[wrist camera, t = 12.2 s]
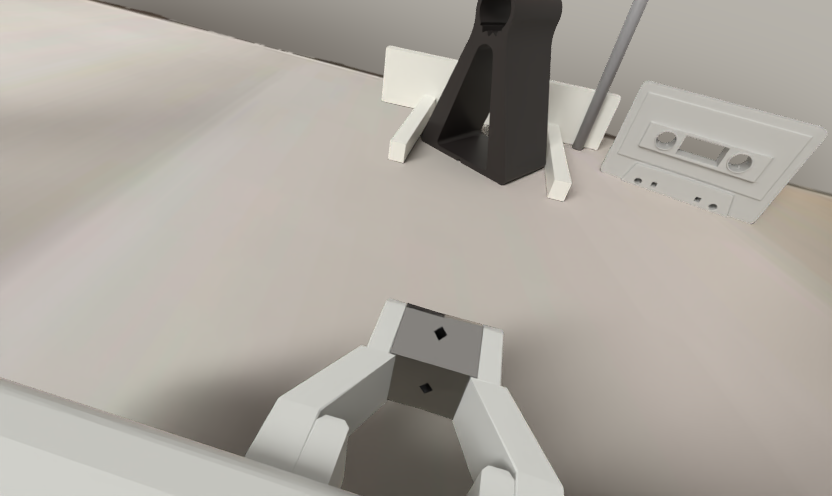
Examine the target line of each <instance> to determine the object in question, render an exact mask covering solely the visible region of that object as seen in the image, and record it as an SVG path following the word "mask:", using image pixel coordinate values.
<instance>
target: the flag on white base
mask: <svg viewBox="0 0 832 496" xmlns="http://www.w3.org/2000/svg"><path fill="white" fill-rule="evenodd" d="M647 2H648V0H634V1H633V3H632V6H631V8H630V11H629V13H628V15H627V18H626V20H625V22H624V25H623V27H622V30H621V32H620V34H619V37H618V39H617V42H616V44H615V46H614V49H613V51H612V53H611V56H610V58H609V60H608V63H607V65H606V67H605V70H604V72H603V74H602V77H601V79H600V81H599V84H598V86H597V89H596V90H594V89H590V88H585V87H580V86H575V85H571V84H566V83H561V82H557V81H552V80H550V84H549V106H548V129H547V152H546V165H545V166H544V170H545V179H546V189H547V198H551V199H555V200H559V201H563V202H564V200H565V198H566V195H567V193H568V191H569V189H570V186H571V184H572V182H571V178H570V173H569V169H568V164H567V160H566V155H565V151H564V146H563V143H568V144H572V147H573V148H574V149H577V150H582V149H583V147H585V148H589V149H594V150H597V149H598V147H599V145H600V143H601V141H602V139H603V136H604V134H605V132H606V130H607V128H608V126H609V124H610V121H611V119H612V117H613V115H614V113H615V111H616V109H617V107H618V104H619V102H620V100H621V97H620V96H619V95H617V94H613V93H608V91H609V88H610V86H611V84H612V81H613V79H614V77H615V75H616V72H617V70H618V68H619V66H620V63H621V61H622V59H623V56H624V54H625V52H626V50H627V47H628V45H629V43H630V41H631V39H632V36H633V34H634V32H635V29H636V27H637V25H638V23H639V20H640V18H641V16H642V14H643V11H644V9H645V7H646V4H647ZM457 62H458V60H455V59H450V58H446V57H441V56H436V55H432V54H427V53H423V52H418V51H413V50H408V49H403V48H399V47H395V46H388V47H387V48H386V57H385V68H384V79H383V90H382V101H384V102H388V103H392V104H397V105H401V106H406V107H410V108H414V110H413V111H412V112H411V114H410V115H409V116H408V118H407V119H406V120H405V122H404V123H403V124H402V126H401V127H400V128H399V130H398V131H397V132H396V134H395V135H394V136H393V138H392V139H391V140H390V147H389V156H388V159H389V160H393V161H397V162H401V163H404V161H405V159H406V158H407V156H408V154H409V153H410V151H411V149H412V148H413V146H414V144H415V143H416V141H417V139H418V138H419V136H420V134H421V133H422V131H423V129H424V128H425V126H426V124H427V123H428V121H429V119H430V117H431V115H432V113H433V111H434V109H435V107H436V104H437V102H438V100H439V98H440V96H441V94H442V92H443V90H444V88H445V86H446V84H447V82H448V80H449V78H450V76H451V74H452V72H453V70H454V68H455V66H456V64H457ZM489 119H490V113H489V115H488V117H487V119H486V121H485V123H484V125H489Z"/></svg>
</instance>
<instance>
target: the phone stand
mask: <svg viewBox="0 0 832 496" xmlns="http://www.w3.org/2000/svg"><path fill="white" fill-rule="evenodd" d="M561 13H562V1H561V0H478V3H477V8H476V18H475V23H474V27H473V30H472V33H471V36H470V38H469V40H468V42H467V44H466V46H465V48H464V50H463V52H462V54H461V56H460V58H459V60H458V62H457V64H456V66H455V68H454V70H453V72H452V74H451V76H450V78H449V80H448V82H447V84H446V86H445V88H444V90H443V92H442V94H441V96H440V98H439V100H438V102H437V104H436V107H435V109H434V111H433V113H432V115H431V117H430V119H429V121H428V123H427V125H426V127H425V129H424V131H423V133H422V135H421V139H422V141H423V142H425V143H427V144H429V145H430V146H432V147H434V148H436V149H437V150H439V151H441V152H443V153H445V154H446V155H448V156H450V157H452V158H454V159H455V160H457V161H458V160H460V161H461V163H463V164H464V165H466V166H468V167H470V168H471V169H473V170H475V171H477V172H479V173H480V174H482V175H484V176H486V177H488V178H489V179H491V180H493V181H495V182H497V183H498V184H500V185H503V184H505V183H507V182H510V181H512V180H515V179H517V178H519V177H522V176H524V175H526V174H529V173H531V172H533V171H536V170H538V169H540V168H543V167H544V166H545V165H546V152H547V129H548V106H549V84H550V60H551V44H552V38H553V34H554V31H555V29H556V26H557V24H558V22H559V20H560V17H561ZM489 113H490V119H489V136H486V135H484V134H482V132H481V128H482V126H483V124H484V123H485V121H486V119H487V117H488V115H489Z"/></svg>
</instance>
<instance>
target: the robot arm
mask: <svg viewBox="0 0 832 496" xmlns="http://www.w3.org/2000/svg"><path fill="white" fill-rule="evenodd" d="M503 341H504V332H503V330H502V329H498V328H494V327H491V326H487V325H482V324H480V323H476V322H472V321H469V320H465V319H461V318H458V317H454V316H450V315H446V314H442V313H438V312H435V311H432V310H429V309H425V308H422V307H419V306H416V305H412V304H409V303H408V304H407V303H405V302H401V301H398V300H395V299H392V298H388V299H387V301H386V302H385V305H384V307H383V309H382V312H381V314H380V317H379V319H378V321H377V324H376V326H375V329H374V331H373V333H372V336H371V338H370V341H369V343H368V345H367V346H363V345H360V346H359V347H357V348H356V349H354V350H353V351H351V352H349V353H348V354H346V355H345V356H343V357H342V358H340V359H338V360H337V361H335V362H334V363H332V364H331V365H329V366H327V367H326V368H324V369H323V370H321V371H320V372H318V373H316V374H315V375H313V376H312V377H310V378H309V379H307V380H305V381H304V382H302V383H301V384H299V385H298V386H296V387H294V388H293V389H291V390H290V391H288V392H287V393H285V394H283V395H282V396H280V397H279V398H278V399H277V401H276V403H275V405H274V406H273V408H272V410H271V412H270V413H269V415H268V417H267V418H266V420H265V422H264V424H263V425H262V427H261V429H260V431H259V432H258V434H257V436H256V437H255V439H254V441H253V443H252V444H251V446H250V448H249V449H248V451H247V453H246V455H245V456H244V457H242V456H239V455H236V454H233V453H230V452H227V451H224V450H221V449H218V448H215V447H212V446H209V445H206V444H203V443H200V442H197V441H194V440H190V439H187V438H184V437H181V436H178V435H175V434H172V433H169V432H166V431H163V430H160V429H157V428H154V427H151V426H148V425H145V424H142V423H139V422H136V421H133V420H130V419H126V418H123V417H120V416H117V415H114V414H111V413H108V412H105V411H102V410H99V409H96V408H93V407H90V406H87V405H84V404H81V403H78V402H75V401H72V400H69V399H65V398H62V397H59V396H56V395H53V394H50V393H47V392H44V391H41V390H38V389H35V388H32V387H29V386H26V385H23V384H20V383H17V382H14V381H11V380H8V379H5V378H1V377H0V496H361V495H358V494H355V493H352V492H349V491H346V490H343V489H340V488H341V486H342V483H343V480H344V472H345V462H346V453H347V443H348V436H349V435H350V434H352V433H353V432H354V431H355V430H356V429H357V428H358V427H359V426H360V425H361V424H363V423H364V422H365V421H366V420H367V419H368V418H369V417H370V416H371V415H373V414H374V413H375V412H376V411H377V410H378V409H379V408H380V407H381V406H382V405H384V404H385V403H386V401H387V400H390V401H393V402H397V403H401V404H404V405H408V406H412V407H415V408H419V409H422V410H425V411H428V412H431V413H434V414H437V415H440V416H443V417H446V418H449V419H452V420H453V421H452V422H453V425H454V428H455V431H456V434H457V437H458V439H459V442H460V445H461V448H462V451H463V454H464V457H465V460H466V463H467V466H468V469H469V472H470V475H471V478H472V480H473V483H474V484H473V485H472V487H471V489H470V490H469V492H468V493H467V495H466V496H564V489H563V486H562V484H561V482H560V480H559V478H558V477H557V475H556V473H555V471H554V470H553V468H552V466H551V464H550V463H549V461H548V459H547V457H546V455H545V454H544V452H543V450H542V448H541V447H540V445H539V443H538V441H537V440H536V438H535V436H534V434H533V433H532V431H531V429H530V427H529V425H528V424H527V422H526V420H525V418H524V417H523V415H522V413H521V411H520V410H519V408H518V406H517V404H516V402H515V401H514V399H513V397H512V395H511V394H510V392H509V390H508V388H506V387H503V386H501V379H502V360H503Z"/></svg>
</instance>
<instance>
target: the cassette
mask: <svg viewBox="0 0 832 496" xmlns="http://www.w3.org/2000/svg"><path fill="white" fill-rule="evenodd" d="M664 132H671V133H673V134H675V136H676V137H675V139H673V140H672V141H671V142H668V143H663V142H660V141H659V140H658V138H657V137H658V136H659V135H660V134H661V133H664ZM827 134H828V132H827V130H826V129H825V128H823V127H822V126H819V125H815V124H811V123H807V122H804V121H800V120H796V119H792V118H788V117H785V116H781V115H777V114H773V113H769V112H765V111H762V110H758V109H754V108H750V107H747V106H743V105H739V104H736V103H731V102H728V101H724V100H720V99H717V98H713V97H709V96H705V95H701V94H698V93H694V92H690V91H686V90H682V89H679V88H675V87H671V86H667V85H664V84H659V83H656V82H652V81H645V82H644V83H643V84H642V86H641V88H640V90H639V92H638V94H637V96H636V98H635V100H634V102H633V104H632V106H631V108H630V110H629V112H628V114H627V116H626V118H625V121H624V123H623V124H622V126H621V129H620V131H619V133H618V135H617V137H616V139H615V141H614V143H613V145H612V147H610V149H609V151H608V153H607V155H606V157H605V159H604V161H603V164H602V166H601V172H603V173H606V174H609V175H612V176H615V177H618V178H620V179H621V180H622V181H624V182H627V183H630V184H633V185H636V186H639V187H641V188H644V189H647V190H650V191H653V192H656V193H659V194H661V195H664V196H667V197H670V198H673V199H676V200H678V201H681V202H684V203H687V204H690V205H693V206H696V207H698V208H701V209H704V210H707V211H710V212H713V213H715V214H718V215H721V216H724V217H727V216H729V217H732V218H735V219H738V220H740V221H743V222H746V223H749V224H752V223H754V222H755V221H756V220H757V219H758V218H759V217H760V215H761V214H762V213H763V212H764V211H765V209H766V208H767V207H768V206H769V205H770V203H771V202H772V201H773V200H774V199H775V197H776V196H777V195H778V194H779V193H780V192H781V190H782V189H783V188H784V187H785V186H786V184H787V183H788V182H789V181H790V180H791V178H792V177H793V176H794V175H795V174H796V172H797V171H798V170H799V169H800V168H801V166H802V165H803V164H804V163H805V162H806V160H807V159H808V158H809V157H810V156H811V154H812V153H813V152H814V151H815V150H816V148H817V147H818V146H819V145H820V143H822V141H823V140H824V139H825V138H826V136H827ZM686 136H689V137H693V138H696V139H699V140H703V141H706V142H709V143H713V144H717V145H720V146H723V147H725V148H724V149H723V151H722V152H721V154H720V155H719V157H718V158H717V160H712V159H709V158H706V157H703V156H700V155H696V154H693V153H690V152H686V151H683V150H680V149H679V147H680V145H681V144H682V142H683V140H684V139H685V137H686ZM739 154H744V155H747V156H748V158H747V160H746V161H744V162H743V163H741V164H731V163H729V160H730V159H731V158H732V157H734V156H736V155H739Z"/></svg>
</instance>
